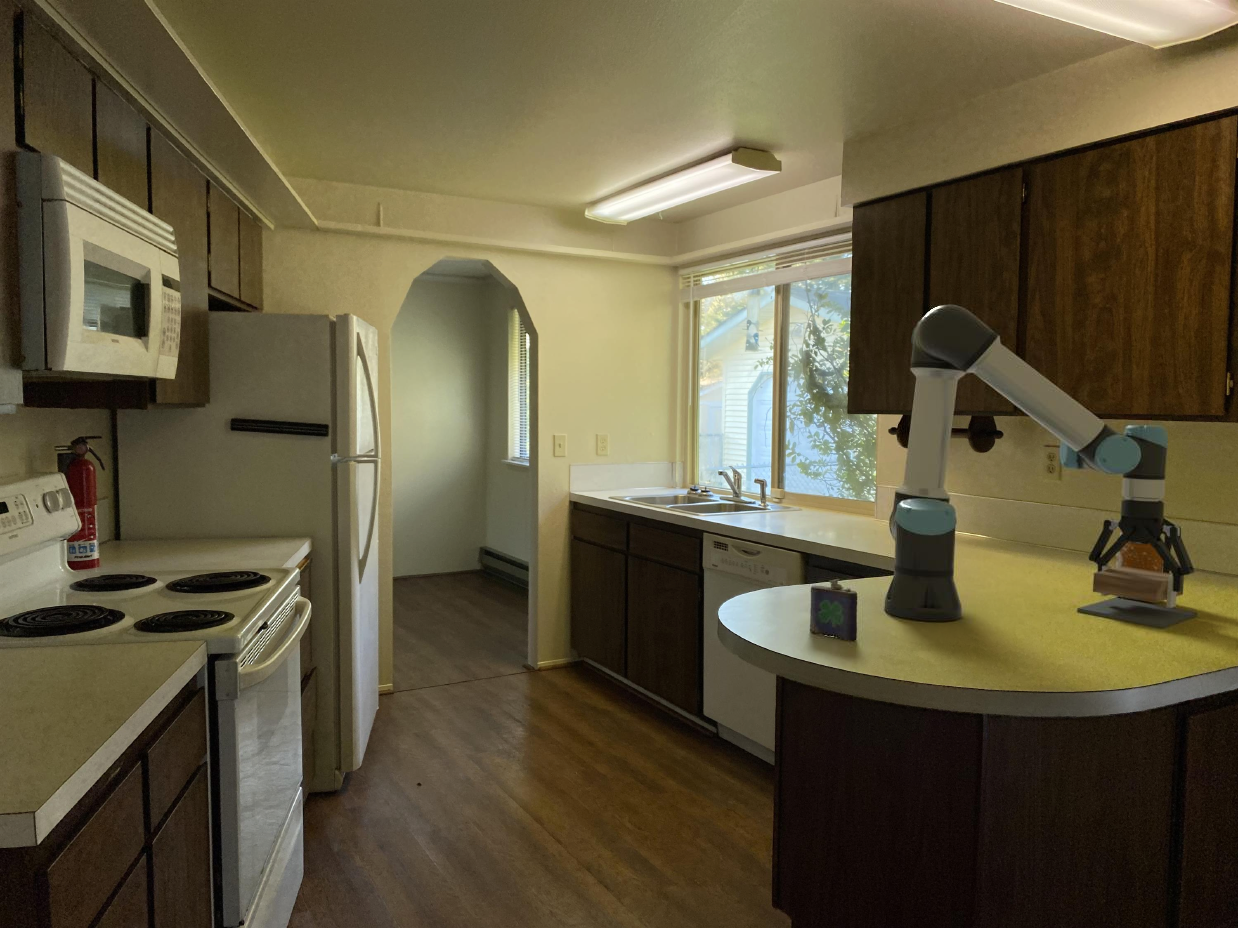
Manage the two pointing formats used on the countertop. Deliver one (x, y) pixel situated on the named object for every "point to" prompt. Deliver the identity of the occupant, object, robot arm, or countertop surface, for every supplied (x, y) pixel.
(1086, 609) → the mat
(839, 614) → the flask
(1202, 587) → the countertop surface
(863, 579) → the countertop surface
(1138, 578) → the wooden block
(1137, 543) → the canister
